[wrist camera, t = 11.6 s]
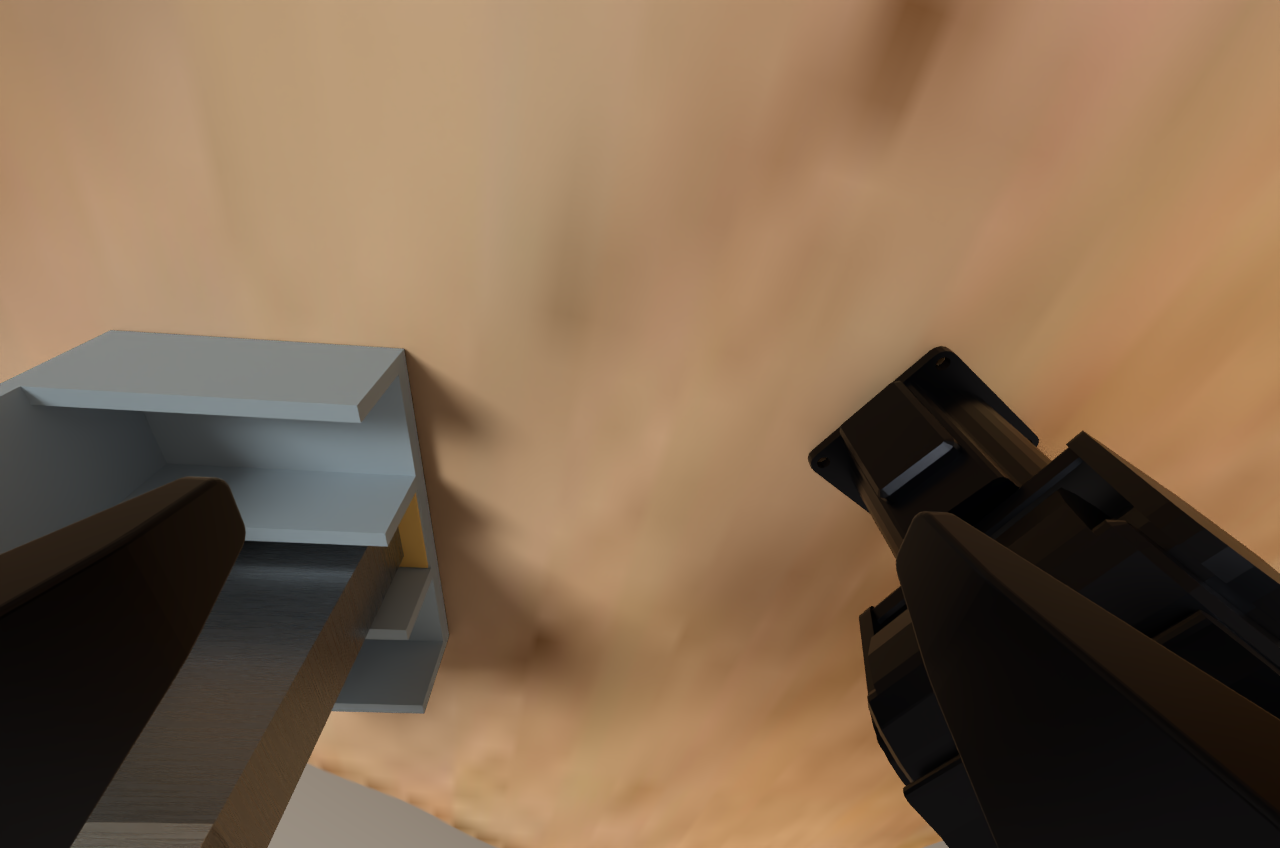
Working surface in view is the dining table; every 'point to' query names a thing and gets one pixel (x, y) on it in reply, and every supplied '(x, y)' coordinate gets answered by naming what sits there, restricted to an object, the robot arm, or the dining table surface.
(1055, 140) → the dining table surface
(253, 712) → the grey rectangular block
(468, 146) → the dining table surface
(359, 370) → the rack
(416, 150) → the dining table surface
